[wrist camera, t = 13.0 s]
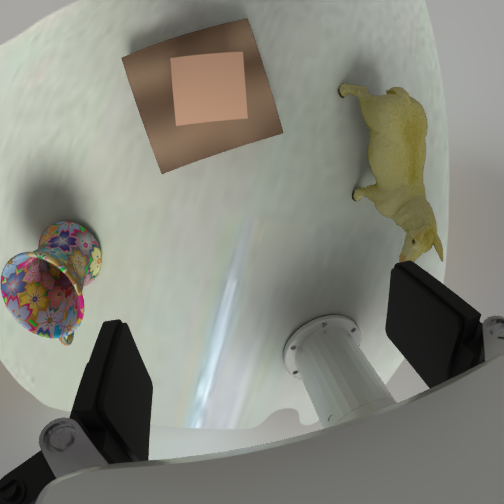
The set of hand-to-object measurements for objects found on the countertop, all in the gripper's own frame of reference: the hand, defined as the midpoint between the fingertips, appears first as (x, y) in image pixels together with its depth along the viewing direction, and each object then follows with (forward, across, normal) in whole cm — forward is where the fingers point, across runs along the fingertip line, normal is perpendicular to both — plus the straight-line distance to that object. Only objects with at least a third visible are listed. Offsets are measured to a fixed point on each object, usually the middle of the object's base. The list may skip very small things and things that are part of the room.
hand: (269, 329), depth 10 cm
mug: (+26, +19, +5) cm, 33 cm away
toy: (+27, -18, -1) cm, 32 cm away
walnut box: (+26, 0, -10) cm, 28 cm away
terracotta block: (+21, 0, -10) cm, 23 cm away
